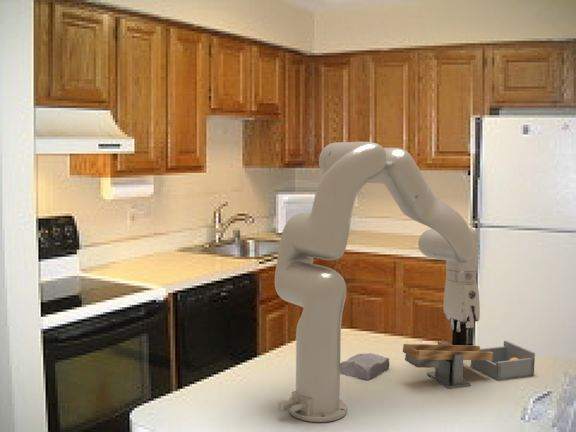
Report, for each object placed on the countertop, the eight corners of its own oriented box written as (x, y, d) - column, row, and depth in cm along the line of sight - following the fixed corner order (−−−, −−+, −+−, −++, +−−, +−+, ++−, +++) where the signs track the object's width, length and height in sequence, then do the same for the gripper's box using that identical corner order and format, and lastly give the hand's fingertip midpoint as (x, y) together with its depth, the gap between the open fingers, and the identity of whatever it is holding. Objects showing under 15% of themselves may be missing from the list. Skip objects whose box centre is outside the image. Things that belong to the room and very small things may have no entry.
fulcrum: (449, 388, 150) (450, 356, 149) (426, 374, 159) (427, 344, 159) (470, 385, 152) (471, 354, 151) (447, 372, 161) (448, 342, 161)
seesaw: (414, 367, 148) (416, 351, 148) (386, 350, 161) (388, 335, 161) (490, 368, 156) (493, 352, 156) (458, 352, 168) (460, 337, 168)
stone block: (336, 381, 160) (371, 381, 154) (334, 362, 160) (368, 362, 154) (360, 370, 170) (393, 370, 164) (357, 352, 170) (390, 351, 164)
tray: (497, 380, 156) (498, 357, 155) (470, 366, 166) (471, 344, 165) (533, 375, 159) (534, 352, 159) (505, 362, 170) (506, 340, 169)
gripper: (491, 280, 156) (489, 352, 158) (456, 269, 170) (454, 336, 172) (466, 282, 153) (463, 355, 155) (432, 271, 167) (430, 338, 169)
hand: (459, 345), depth 164 cm, fingers closed
